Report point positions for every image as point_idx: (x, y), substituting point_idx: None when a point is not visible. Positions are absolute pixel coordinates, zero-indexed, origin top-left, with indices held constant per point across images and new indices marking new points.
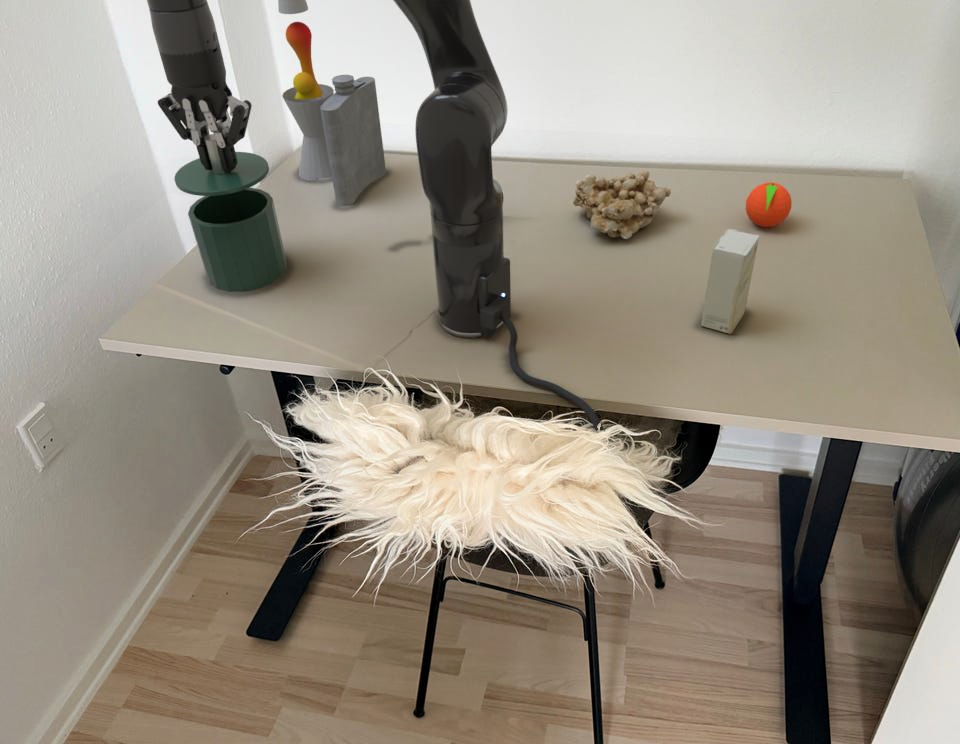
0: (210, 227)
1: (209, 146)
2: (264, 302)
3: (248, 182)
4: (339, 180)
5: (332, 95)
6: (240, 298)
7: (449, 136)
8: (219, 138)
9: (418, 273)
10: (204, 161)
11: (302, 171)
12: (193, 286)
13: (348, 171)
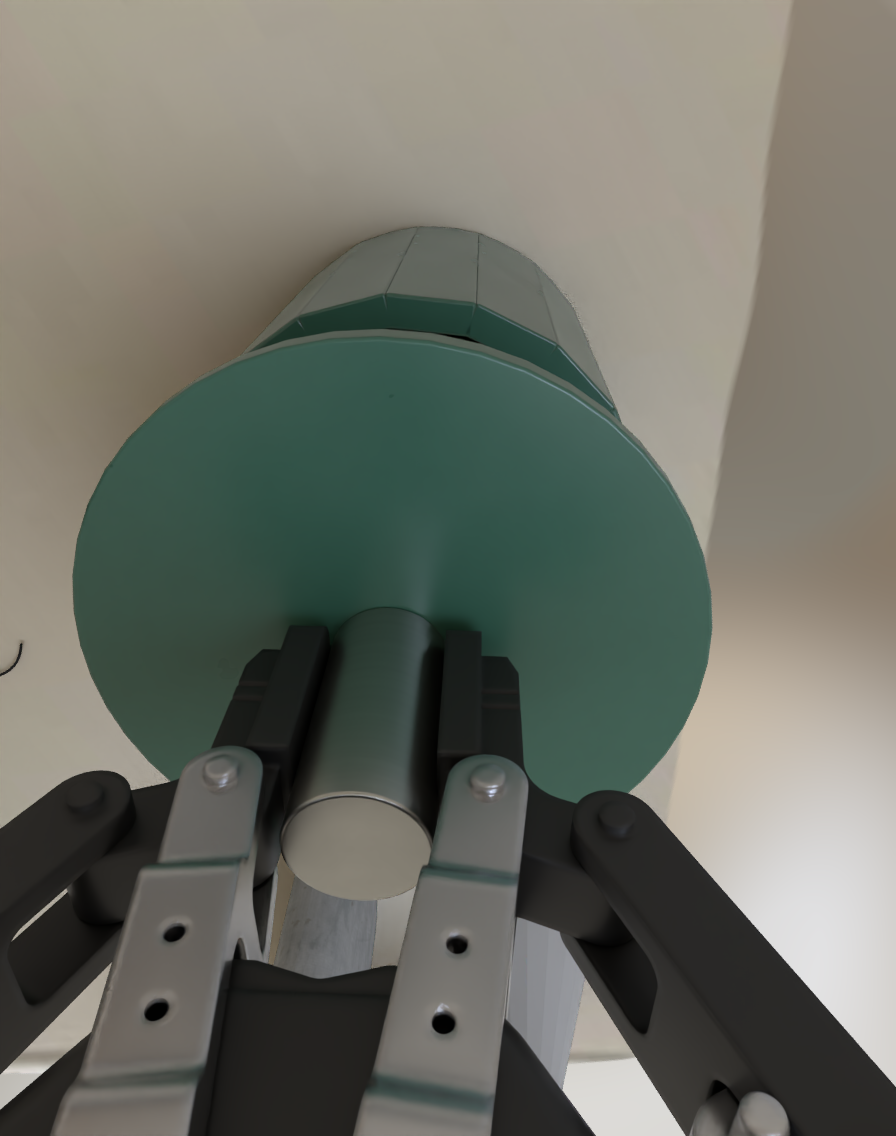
0: (391, 290)
1: (360, 752)
2: (247, 206)
3: (93, 548)
4: (309, 893)
5: None
6: (363, 209)
7: None
8: (211, 815)
9: None
10: (465, 666)
11: (556, 950)
12: (614, 246)
13: (281, 932)
